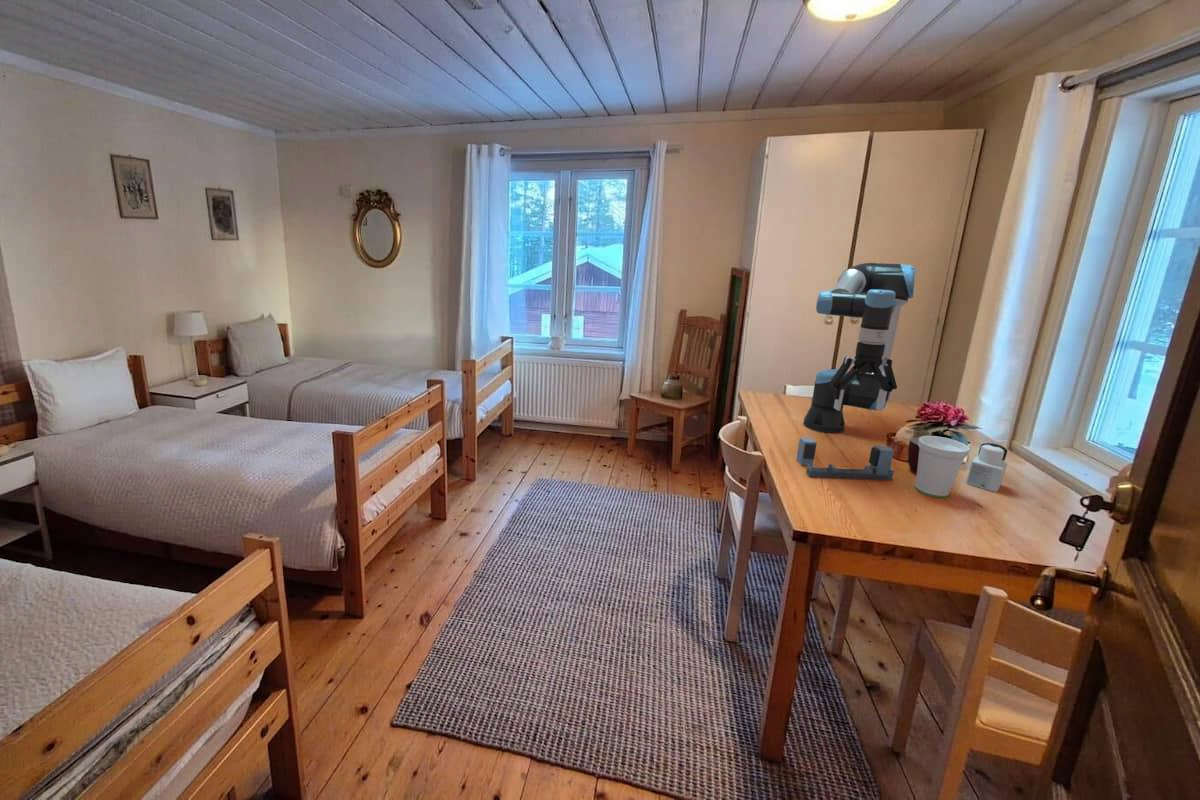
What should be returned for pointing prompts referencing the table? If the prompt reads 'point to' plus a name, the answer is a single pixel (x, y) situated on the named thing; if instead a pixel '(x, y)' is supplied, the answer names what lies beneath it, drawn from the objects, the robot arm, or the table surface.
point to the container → (988, 467)
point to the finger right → (806, 451)
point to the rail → (875, 471)
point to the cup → (938, 464)
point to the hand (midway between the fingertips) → (858, 409)
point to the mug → (913, 454)
